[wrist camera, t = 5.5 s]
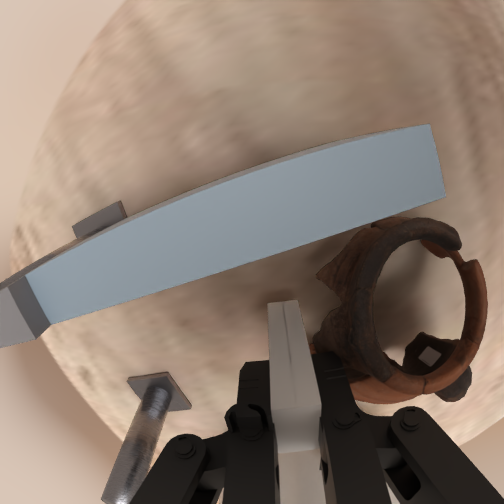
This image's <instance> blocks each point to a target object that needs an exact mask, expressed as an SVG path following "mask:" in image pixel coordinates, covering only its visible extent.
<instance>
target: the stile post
mask: <svg viewBox="0 0 504 504" xmlns="http://www.w3.org/2000/svg"><path fill="white" fill-rule="evenodd" d="M127 382H128V384H129V385H130V386H131V388H132V389H133V390H134V392H135V393H136V394H137V395H138V397H139V398H140V399H141V402H140V405H139V407H138V409H137V411H136V414H135V416H134V418H133V421H132V423H131V425H130V428H129V430H128V432H127V435H126V437H125V440H124V442H123V444H122V447H121V449H120V452H119V454H118V457H117V459H116V461H115V464H114V467H113V469H112V472H111V474H110V477H109V479H108V482H107V484H106V487H105V490H104V492H103V495H102V497H101V500H102V501H103V502H105V503H106V504H129V503H130V501H131V500H132V498H133V497H134V495H135V494H136V492H137V490H138V489H139V487H140V486H141V484H142V483H143V481H144V479H145V478H146V476H147V474H148V470H149V468H150V464H151V461H152V458H153V455H154V452H155V449H156V445H157V442H158V439H159V436H160V433H161V430H162V427H163V424H164V421H165V418H166V415H167V412H168V411H179V410H189V409H191V406H192V405H191V404H190V403H189V401H188V400H187V398H186V397H185V396H184V394H183V393H182V392H181V390H180V389H179V387H178V386H177V385H176V383H175V382H174V380H173V379H172V377H171V376H170V374H169V373H168V372H166V373H160V374H153V375H146V376H139V377H132V378H128V380H127Z"/></svg>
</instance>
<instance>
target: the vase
mask: <svg viewBox="0 0 504 504" xmlns="http://www.w3.org/2000/svg"><path fill="white" fill-rule="evenodd" d="M320 459H321V454H320V448H319V449H314V450H307V451H299V452H289V453H278V462H279V475H280V504H326V500H325V492H324V485H323V478H322V471H321V470H319V468H320ZM386 484H387V483H386ZM387 488H388V491H389V495H390V498H391V502H392V504H400V503H399V501H398V500H397V498H396V497H395V495H394V494H393V492H392V491H391V489H390V488H389V486H388V485H387ZM223 490H224V488H223V489H222V492H221V494H220V496H219V504H222V500H223Z"/></svg>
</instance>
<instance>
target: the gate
mask: <svg viewBox="0 0 504 504" xmlns="http://www.w3.org/2000/svg"><path fill="white" fill-rule="evenodd" d="M444 197H446V194H445V188H444V182H443V177H442V172H441V167H440V162H439V158H438V154H437V150H436V145H435V142H434V138H433V134H432V130H431V127H430V124H423V125H417V126H410V127H404V128H398V129H392V130H387V131H381V132H376V133H371V134H366V135H361V136H356V137H352V138H347V139H343V140H338V141H334V142H330V143H327V144H323V145H320V146H317V147H313V148H310V149H306V150H303V151H300V152H297V153H293V154H290V155H287V156H284V157H281V158H278V159H275V160H272V161H269V162H266V163H263V164H260V165H257V166H254V167H251V168H248V169H245V170H243V171H240V172H237V173H234V174H232V175H229V176H226V177H224V178H221V179H218V180H216V181H213V182H210V183H208V184H205V185H203V186H200V187H198V188H195V189H193V190H190V191H188V192H185V193H183V194H180V195H178V196H176V197H173V198H171V199H168V200H166V201H164V202H161V203H159V204H157V205H154V206H152V207H150V208H148V209H145V210H143V211H141V212H139V213H137V214H134V215H132V216H130V217H128V218H126V219H124V220H122V221H120V222H118V223H116V224H114V225H112V226H110V227H108V228H106V229H104V230H102V231H100V232H98V233H96V234H95V235H93V236H91V237H89V238H87V239H85V240H83V241H82V242H80V243H78V244H76V245H74V246H73V247H71V248H69V249H67V250H66V251H64V252H62V253H60V254H59V255H57V256H55V257H54V258H52V259H50V260H48V261H47V262H45V263H43V264H42V265H40V266H39V267H37V268H35V269H34V270H32V271H30V272H29V273H27V274H26V275H24V276H23V277H21V278H19V279H18V280H16V281H15V282H13V283H11V284H10V285H8V286H6V287H5V288H3V289H1V290H0V348H2V347H7V346H11V345H15V344H19V343H23V342H28V341H31V340H36V339H37V338H38V337H39V336H40V335H41V334H42V333H43V332H44V331H45V330H46V329H47V328H48V327H49V326H50V325H52V324H55V323H59V322H62V321H65V320H69V319H72V318H75V317H78V316H82V315H85V314H88V313H92V312H95V311H98V310H101V309H105V308H108V307H111V306H114V305H118V304H121V303H124V302H127V301H130V300H134V299H137V298H140V297H143V296H146V295H150V294H153V293H156V292H159V291H162V290H166V289H169V288H172V287H175V286H178V285H181V284H184V283H188V282H191V281H194V280H197V279H200V278H203V277H206V276H210V275H213V274H216V273H219V272H222V271H225V270H228V269H231V268H235V267H238V266H241V265H244V264H247V263H250V262H253V261H256V260H259V259H262V258H265V257H268V256H272V255H275V254H278V253H281V252H284V251H287V250H290V249H293V248H296V247H299V246H302V245H305V244H308V243H311V242H314V241H317V240H320V239H323V238H326V237H329V236H332V235H335V234H338V233H341V232H344V231H347V230H350V229H353V228H356V227H359V226H362V225H365V224H368V223H371V222H374V221H377V220H380V219H383V218H386V217H389V216H392V215H395V214H398V213H401V212H404V211H407V210H410V209H412V208H415V207H418V206H421V205H424V204H427V203H430V202H433V201H436V200H439V199H442V198H444Z"/></svg>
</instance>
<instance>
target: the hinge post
mask: <svg viewBox="0 0 504 504" xmlns="http://www.w3.org/2000/svg"><path fill="white" fill-rule="evenodd" d="M126 218H127V216H126V214H125V211H124V209H123V206H122V204H121V201H118V202H116V203H114V204H112V205H110V206H108V207H106V208H104V209H102V210H100V211H99V212H97V213H95V214H93V215H91V216H89V217H88V218H86V219H84V220H82V221H80V222H79V223H77V224H75V225H73V226H72V228H73V230H74V233H75V235H76V237H77V239H75V240H73V241H71V242H70V243H68V244H66V245H64V246H62V247H60V248H59V249H57V250H55V251H53V252H51V253H50V254H48V255H46V256H44V257H42V258H41V259H39V260H37V261H36V262H34V263H32V264H30V265H29V266H27V267H25V268H24V269H22V270H20V271H19V272H17V273H16V274H14V275H12V276H11V277H9V278H8V279H6V280H4V281H3V282H1V283H0V290H1V289H3V288H5V287H6V286H8V285H10V284H11V283H13V282H15V281H16V280H18V279H19V278H21V277H23V276H24V275H26V274H27V273H29V272H30V271H32V270H34V269H35V268H37V267H39V266H40V265H42V264H43V263H45V262H47V261H48V260H50V259H52V258H54V257H55V256H57V255H59V254H60V253H62V252H64V251H66V250H67V249H69V248H71V247H73V246H74V245H76V244H78V243H80V242H82V241H83V240H85V239H87V238H89V237H91V236H93V235H95V234H96V233H98V232H100V231H102V230H104V229H106V228H108V227H110V226H112V225H114V224H116V223H118V222H120V221H122V220H124V219H126Z"/></svg>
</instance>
